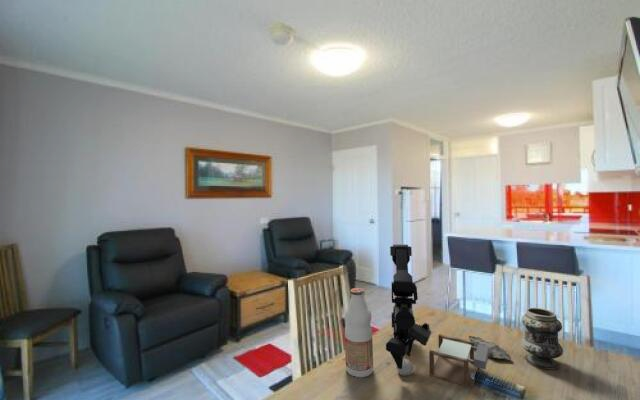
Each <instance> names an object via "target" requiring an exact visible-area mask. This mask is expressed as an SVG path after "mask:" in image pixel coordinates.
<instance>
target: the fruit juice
mask: <svg viewBox="0 0 640 400" xmlns="http://www.w3.org/2000/svg"><path fill="white" fill-rule="evenodd" d="M365 291H366V290H365V289H364V288H361V287H354V288H351V289H350V296H351V297H350V300H349V305H348V307H347V308H346V309H345V312H344V319H345V322H346V325H345V328H344V344H345V345H344V349H345V350H344V352H345V370H346V372H347V374H349V376H352V377H354V376H355V378H365V377H369V376H370V375H372V373H373V371H374V352H373V350H374V349H373V346H374V345H373V342H374V341H373V328H372V325H371V322H372V311H371V310H370V308H369V306H368V303H367V301H366V299H365V294H366V292H365Z"/></svg>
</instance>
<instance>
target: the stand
mask: <svg viewBox="0 0 640 400" xmlns="http://www.w3.org/2000/svg"><path fill="white" fill-rule="evenodd" d="M437 339H438V349H439V348H440V346H441V344H442V342H443V340H444V339H446V340H450V341H455V342H460V343H464V344H469V345H471V346H474V341H470V340H468V339H463V338H458V337H454V336H449V335H446V334H445V335H444V334H441V333H440V334H438V338H437ZM428 353H429V355H428V357H429V361H428V362H429V366H428V367H429V376H430V377H434V378H438V379H440V380H441V379H442V380H443V381H447V382H450V383H454V384H458V385H461V386H465V387H469V388H472V389H474V386H475V382H476V379H475V380H473V379H472V378H471V373H473V372H477V373H478V370H479V368H478V367H474V363H471V362H468V359H472V360H474V357H475V349H471V350H470V353H469V358H468V359H465V358H460V357H456V356H452V355H448V354H444V353H440V352H438V351H435V350H431V349H430V350H429V352H428ZM435 356H436V357H437V359H436V361H435Z"/></svg>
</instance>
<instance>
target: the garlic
mask: <svg viewBox="0 0 640 400" xmlns="http://www.w3.org/2000/svg"><path fill="white" fill-rule="evenodd" d="M413 366H414V365H413V363H412V362H411V361H410V360H409V359H406V358H403V365H402V369H399V368H398V367H397V366H396V369H397V372H398V373H399V374H400V375H401V376H409V375H411V374H412V372H413V370H414V367H413Z"/></svg>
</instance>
